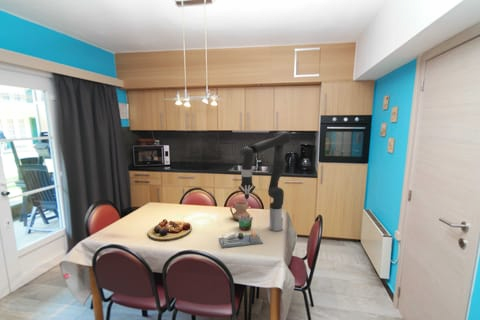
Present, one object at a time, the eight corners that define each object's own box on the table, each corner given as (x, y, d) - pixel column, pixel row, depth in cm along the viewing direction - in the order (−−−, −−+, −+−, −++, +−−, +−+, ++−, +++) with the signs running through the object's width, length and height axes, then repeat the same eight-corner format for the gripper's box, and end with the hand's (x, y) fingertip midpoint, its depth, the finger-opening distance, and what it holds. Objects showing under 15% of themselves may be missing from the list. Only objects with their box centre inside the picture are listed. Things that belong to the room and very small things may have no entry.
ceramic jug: (252, 216, 207) (252, 200, 205) (249, 222, 193) (248, 206, 191) (232, 215, 211) (232, 199, 209) (228, 221, 197) (227, 204, 195)
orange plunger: (255, 237, 163) (255, 231, 163) (257, 240, 160) (257, 233, 159) (250, 238, 163) (250, 231, 162) (252, 240, 159) (252, 234, 159)
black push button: (242, 236, 167) (242, 232, 167) (243, 238, 164) (243, 235, 163) (237, 236, 166) (237, 233, 166) (238, 238, 163) (238, 235, 162)
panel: (257, 235, 171) (257, 229, 171) (262, 243, 159) (262, 237, 158) (219, 239, 165) (218, 233, 165) (221, 248, 153) (221, 241, 152)
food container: (235, 229, 181) (234, 216, 180) (238, 226, 187) (238, 214, 185) (249, 232, 176) (249, 219, 175) (252, 228, 182) (252, 216, 180)
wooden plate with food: (199, 225, 189) (198, 215, 188) (177, 244, 158) (177, 232, 157) (164, 222, 198) (164, 212, 197) (138, 238, 168) (137, 227, 167)
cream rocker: (234, 232, 166) (233, 230, 165) (235, 235, 162) (234, 233, 161) (224, 237, 164) (223, 236, 164) (225, 240, 161) (224, 238, 160)
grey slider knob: (226, 241, 159) (226, 235, 158) (227, 244, 156) (227, 237, 155) (222, 242, 158) (222, 235, 158) (223, 244, 155) (223, 237, 154)
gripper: (238, 176, 161) (238, 201, 164) (257, 175, 164) (257, 199, 167) (236, 174, 169) (236, 198, 171) (254, 173, 172) (254, 196, 174)
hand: (246, 198), depth 169 cm, fingers closed
